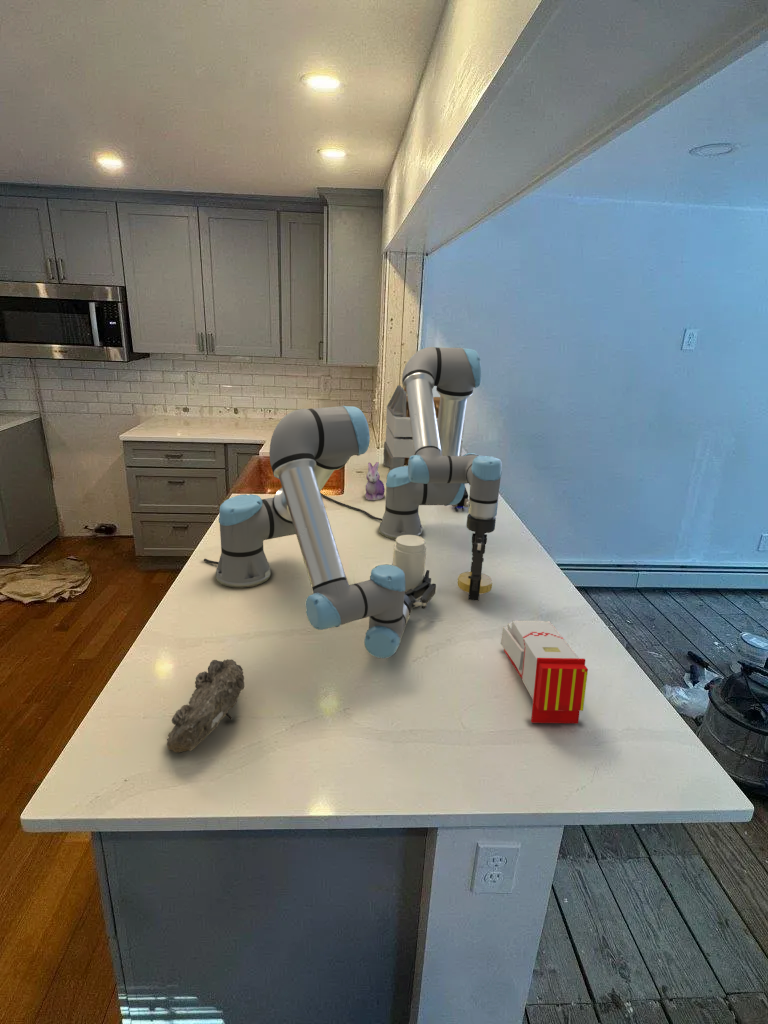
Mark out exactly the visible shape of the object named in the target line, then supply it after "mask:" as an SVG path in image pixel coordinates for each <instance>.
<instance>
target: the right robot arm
mask: <svg viewBox="0 0 768 1024" xmlns="http://www.w3.org/2000/svg"><path fill="white" fill-rule="evenodd" d="M482 370H483V369H482V361H481V358H480V355H479V352H477V350H476V349H473V348H465V347H435V346H428V347H424V348H421V349H419V350H418V351H416V352H415V353H414V354H413V355H411V357H410V358H409V359H408V360H407V362H406V364H405V366H404V368H403V371H402V374H401V375H402V378H401V382H402V383H401V384H402V388H403V389H404V391H405V392H406V393H407V398H408V406H409V414H410V422H411V430H412V439H413V447H414V455H413V456H410V458H409V461H408V466H407V465H404V466H403V467H397V468H394V469H392V470H391V471H390V470H388V473H387V475H386V480H385V481H386V482H385V487H386V488H385V504H384V505H385V507H384V508H385V509H384V513H383V515H382V518H380V517H378V516H377V517H376V516H375V515H372V514H370V513H369V512H367V511H365V510H364V509H361V508H358V507H355V506H352V505H349V504H346V503H343V502H341V501H338V500H335V499H334V498H331V497H328V496H327V495H325V494H323V493H321V497H322V498H325V499H327V500H328V501H331V502H333V503H335V504H338V505H341V506H344V507H345V508H348V509H352V510H355V511H358V512H360V513H364V514H365V515H367V516H368V517H370V518H372V519H373V520H377V521H380V522H379V526H378V533H379V534H380V535H381V536H382V537H385V538H387V539H389V540H395V541H396V538H397V537H399V536H402V535H416V536H419V537H422V535H423V531H424V526H423V525H422V524H421V518H420V515H419V507H420V506H445V507H448V506H452V505H456V504H458V503H459V502H460V501H461V499H462V497H463V494H464V490H465V487H466V485H465V484H469V494H468V499H469V502H466V505H468V507H467V515H466V517H467V518H466V525H465V527H466V529H467V530H469V531H470V532H472V533H471V555H472V557H471V560H472V561H471V562H470V563H471V564H470V572H472V575H471V576H468V578H470V588H469V593H468V601H475V602H476V601H477V602H478V601H480V594H479V592H480V582H481V573H483V563H484V554H485V553H486V546H487V542H488V534H490V533H493V532H494V531H495V530H496V522H497V515H498V505H499V496H500V486H501V479H502V474H503V472H502V468H503V466H502V465H503V463H502V461H501V459H500V458H498V457H495V456H491V455H490V456H489V455H479V454H477V453H475V452H467V453H465V454H463V455H461V456H459V453H460V446H461V440H462V439H463V438H462V431H463V424H464V425H465V421H464V420H465V416H466V408H467V401H468V398H470V397H471V396H472V395H473V394H474V389H476V388H479V387H480V386H481V383H482V372H483V371H482ZM434 387H436V390H435V391H436V393H437V394H438V395H439V397H440V404H439V413H438V421H437V419H436V413H435V406H434V399H433V397H434V394H433V393H434V392H433V389H434Z"/></svg>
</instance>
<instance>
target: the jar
mask: <svg viewBox="0 0 768 1024" xmlns="http://www.w3.org/2000/svg"><path fill="white" fill-rule="evenodd" d="M392 554H393V555H392V556H393V557H392V565H393V566H396V567H399V568H400V569H401V570H403V572H404V574H405V591H408V590H410V589H414V588H416V587H418V586H419V585H421V584H423V579H424V576H425V573H426V559H427V558H426V557H427V546H426V540H425V539H424V538H423V537H422V536H420V537H419V536H416V535H402V536H399V537H397V538H396V540H395V543H394V545H393V552H392ZM420 597H422V596H420ZM420 597H419V598H417V599H416V600H418V599H420ZM417 607H419V606H418V605H416V606H415V607H413V608H412V609H414V608H417Z"/></svg>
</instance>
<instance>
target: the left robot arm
mask: <svg viewBox="0 0 768 1024" xmlns="http://www.w3.org/2000/svg"><path fill="white" fill-rule="evenodd" d="M370 440H371V437H370V428H369V423H368V421H367V418H366V415H365V414H364V412H363V411H362V410H361V409H360V408H359V407H356V406H353V405H351V406H350V405H349V406H346V405H340V406H329V407H316V408H315V407H314V408H298V409H295V410H292V411H291V412H288V413H287V414H286V415H284V416H283V417H282V418H281V419H280V420H279V421H278V423H277V424H276V426H275V428H274V431H273V432H272V435H271V439H270V444H269V465H270V467H271V470H272V474H273V477H274V478H277V479H278V480H279V482H280V484H281V488H279V489H277V491H276V493H275V494H274V496H273V497H267V498H262V497H261V496H259V495H258V494H252V493H249V494H237V495H235V496H233V497H232V496H231V497H230V498H228V499H226V500H224V501H223V502H222V503H221V504H220V506H219V509H218V510H219V512H218V514H219V515H218V523H219V536H220V556H219V560H218V561H216V560H210V559H207V558H204V559H203V561H204V562H206V563H208V564H212V565H217V567H216V570H215V579H216V580H217V582H218V583H219V584H220V585H222V586H225V587H228V588H233V589H234V588H235V589H244V588H245V589H246V588H251V587H256V586H259V585H262V584H264V583H265V582H267V581H268V580H269V579H270V578H271V575H272V574H271V566H270V563H269V562H268V561H269V560H268V559H267V556H266V553H265V551H264V541H267V540H271V539H278V538H282V537H289V536H293V535H296V539H297V543H298V546H299V548H300V549H299V550H300V552H301V556H302V559H303V562H304V566H305V569H306V572H307V575H308V579H309V583H310V586H311V589H312V594H309V595H308V596H307V598H306V599H305V613H306V618H307V620H308V622H309V624H310V626H312V627H313V628H314V629H316V630H318V631H323V630H327V629H332V628H335V627H336V628H338V627H340V626H342V625H346V624H349V623H352V622H355V621H358V620H362V619H367V618H368V629H367V630H366V632H365V636H364V642H363V643H364V647H365V649H366V651H367V652H368V653H369V654H370V655H371V656H373V657H374V658H377V659H388V658H391V657H392V656H394V654H395V653H396V652H397V650H398V648H399V647H400V646H401V640H402V637H403V635H404V632H405V630H406V626H407V624H408V621H409V618H410V616H411V613H412V610H413V609H414V608H416V607H415V606H416V605H418V607H420V609H422V610H425V609H427V604H428V603H429V602H430V601H431V599H432V598H433V597H434V595H435V594H436V590H437V584H436V583H432V578H431V577H430V570H429V569H426V570H425V573H424V579H423V584H421V585H419V586H418V587H416V588H414V589H410V590H408V591H405V574H404V572H403V570H401V569H400V568H399V567H396V566H393V564H380V565H377V566H375V567H373V568H372V569H371V571H370V576H369V579H368V580H364V581H360V582H356V583H355V582H354V583H352V584H349V581H348V579H347V576H346V572H345V569H344V566H343V563H342V559H341V556H340V553H339V550H338V547H337V543H336V539H335V536H334V533H333V530H332V526H331V524H330V520H329V516H328V514H327V510H326V507H325V504H324V500H323V496H321V494H322V493H321V491H322V490H323V488H324V487H325V486H326V483H327V482H328V481H329V479H330V478H331V476H332V475H333V473H334V472H335V471H338V470H341V469H342V468H343V467H345V466H346V465H347V463H348V462H349V460H350V459H351V457H353V456H357V457H359V456H361V455H364V454H366V453H367V452H368V449H369V446H370V443H371V441H370ZM420 596H422V597H420ZM419 597H420V599H418V600H416V599H417V598H419ZM413 607H414V608H413Z"/></svg>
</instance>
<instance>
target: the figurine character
mask: <svg viewBox="0 0 768 1024" xmlns="http://www.w3.org/2000/svg"><path fill="white" fill-rule="evenodd" d="M466 502H469V492H468V490H467V488H466V486H465V490H464V494H463V497H462V499H461V501H460V502H459V503H458V504H456V505H451V506H452V507H453V508H454V511H456V512H457V511H458V509H461V511H462V512H464V511H465V508H468V507H469V505H466Z"/></svg>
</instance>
